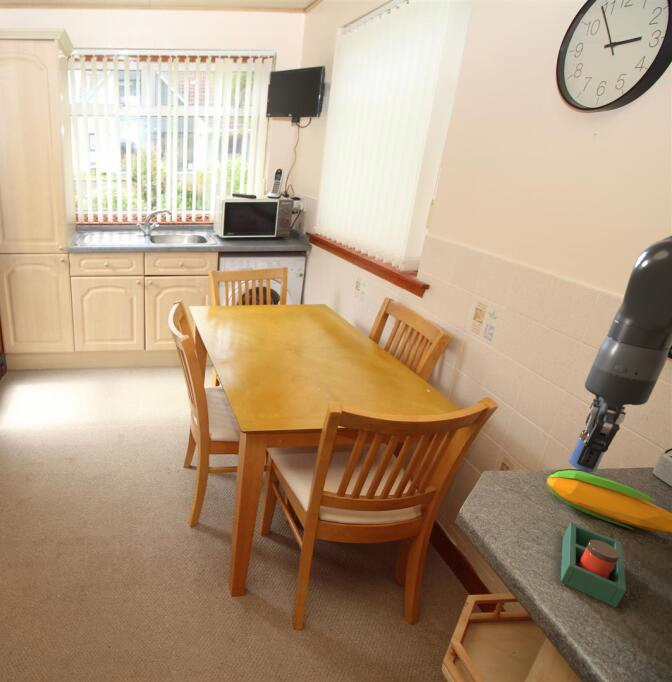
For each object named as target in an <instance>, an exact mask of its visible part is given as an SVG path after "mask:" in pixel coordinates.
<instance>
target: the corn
mask: <svg viewBox="0 0 672 682" xmlns="http://www.w3.org/2000/svg"><path fill="white" fill-rule="evenodd" d="M546 485H547V488H548V489H549V491H550V492H551V494H553V495H554V496H555V497H556V498H558V499H559V500H560V501H562V502H563V503H565V504H566V505H568V506H571V507H573V508H574V509H576V510H578V511H580V512H582V513H584V514H588V515H589V516H592V517H595V518H598V519H600V520H603V521H605V522H607V523H612V524H615V525H617V526H620V527H623V528H626V529H629V530H633V531H634V528H632V527H635V528H637V529H641V530H646V531H649V532H658V533H663V534H664V533H666V534H672V512H670V511H668V510H666V509H664V508H662V507H660V506H658V505H655V504H654V503H656V502H657V500H656V499H655V498H653V497H651V496H649V495H647V494H645V493H643V492H641V491H639V490H637V489H636V488H633V487H630V486H627V485H625V484H622V483H620V482H617V481H616V480H615V481H614V480H611V479H608V478H605V477H604V476H601V475H599V474H596V473H594V472H585V471H582V470H579V469H577V468H567V469H557V470H556V471H554V472H551V473H550V474H548V476H547V479H546Z"/></svg>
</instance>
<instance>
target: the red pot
mask: <svg viewBox="0 0 672 682" xmlns="http://www.w3.org/2000/svg"><path fill="white" fill-rule="evenodd" d="M619 557H620V554H619V552H618V551H617V550H616V549H615V548H614V547H612V546H611V545H609V544H607V543H605V542H602V541H599V540H591V541H589V543H588V545H587V547H586V549H585V551H584V553H583V555H582V557H581V559H580V561H579V563H578V565H577V566H578V567H581V568H583V569H585V570H588V571H590V572H592V573H595V574H597V575H599V576H601V577H604V578H606V579H608V577H609V575H610V573H611V572H612V570H613V568H614V566H615V564H616V563H617V561H618V559H619Z"/></svg>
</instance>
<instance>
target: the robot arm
mask: <svg viewBox="0 0 672 682" xmlns="http://www.w3.org/2000/svg"><path fill="white" fill-rule="evenodd" d="M671 346H672V235H670V236H667V237H664V238H662V239H659V240H657V241H656V242H654V243H652V244H651V245H649V246H648V247H646V248H645V249H644V250H642V252H641V253H640V254H639V255H638V257H637V258H636V260H635V262H634V265H633V268H632V270H631V272H630V275H629V279H628V282H627V285H626V289H625V292H624V295H623V299H622V303H621V304H620V306H619V308H618V309H617V311H616V313H615V315H614V317H613V320H612V322H611V324H610V327H609V330H608V332H607V334H606V337H605V338H604V340H603V341H602V343H601V344H600V346H599V348H598V350H597V353H596V356H595V358H594V360H593V362H592V365H591V367H590V370H589V373H588V375H587V376H586V377H587V378H586V380H585V383H584V388H585V390H587V391H588V393H591V394H592V395H594V397H593V398H592V400H591V401H590V405H589V406H590V407H589V411H588V413H587V415H586V419H585V427H584V429H583V430H587V432H588V434H587V437H586V440H584V442H583V443H584V446H583V448H582V451H581V453H580V455H579V458H578V460H577V463H578V465H580V466H583V467H586V468H589V469H593V468H595V465H596V463H597V461H598V459H599V457H600V454H601V452H604V453H606V452H607V451H608V450H609V446H610V445H611V444H612V442H613V440H614V439H615V436H617V435H616V434H617V433H618V431H620V429H621V426H620V424H622V423H623V422H624V421H625V417H626V415H627V412H625V409H626V406H629V405H631V406H641V405H644V404H647V402H648V401H649V399H650V397H651V395H652V392H653V390H654V389H655V386H656V384H657V382H658V380H659V378H660V376H661V374H662V372H663V369H664V367H665V365H666V363H667V359H668V356H669V352H670V349H671V348H672V347H671ZM594 439H596V440H600V441H602V443H601V442H597V441H594Z"/></svg>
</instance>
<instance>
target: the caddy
mask: <svg viewBox="0 0 672 682" xmlns="http://www.w3.org/2000/svg"><path fill="white" fill-rule="evenodd" d="M591 540H599V541H602V542H605V543H607V544H609V545H611V546H612V547H614V548H615V549H616V550H617V551H618V552H619V554H620V557H619V559H618V561H617V563H616V564H615V566H614V568H613V570H612V572H611V573H610V575H609V577H608V579H606V578H604V577H601V576H599V575H597V574H595V573H592V572H590V571H588V570H585V569H583V568H581V567H578V566H577V565H578V563H579V561H580V559H581V557H582V555H583V553H584V551H585V549H586V547H587V545H588V543H589V541H591ZM560 569H561V570H560V583H561V584H563V585H566V586H568V587H570V588H572V589H575V590H576V591H579V592H580V593H583V594H585V595H587V596H590V597H592V598H593V599H596V600H598V601H600V602H603V603H605V604H607V605H609V606H611V607H613V608H617V607H618V605H619V603H620V602H621V600H622V599H623V597H624V595H625V594H626V592H627V584H626V575H625V567H624V556H623V547H622V541H619V540H617V539H614V538H612V537H609V536H607V535H604V534H602V533H599V532H596V531H594V530H591V529H589V528H587V527H583V526H581V525H579V524H576V523H574V522H571V521H570V522H569V524H568V526H567V528H566V531H565V532H564V534H563V537H562V545H561V567H560Z"/></svg>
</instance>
